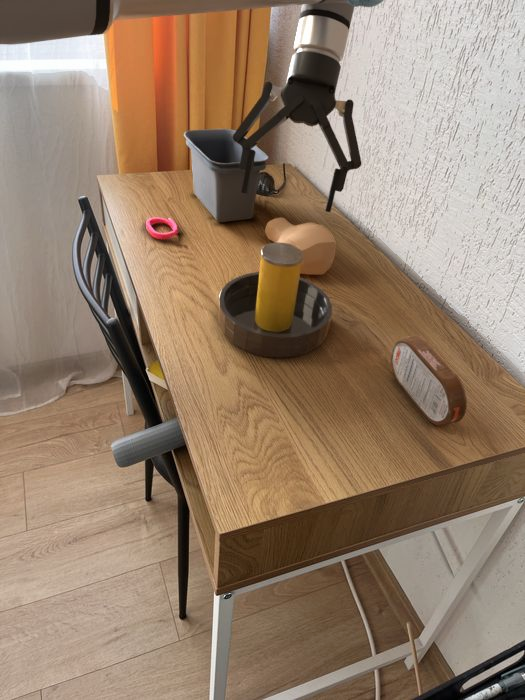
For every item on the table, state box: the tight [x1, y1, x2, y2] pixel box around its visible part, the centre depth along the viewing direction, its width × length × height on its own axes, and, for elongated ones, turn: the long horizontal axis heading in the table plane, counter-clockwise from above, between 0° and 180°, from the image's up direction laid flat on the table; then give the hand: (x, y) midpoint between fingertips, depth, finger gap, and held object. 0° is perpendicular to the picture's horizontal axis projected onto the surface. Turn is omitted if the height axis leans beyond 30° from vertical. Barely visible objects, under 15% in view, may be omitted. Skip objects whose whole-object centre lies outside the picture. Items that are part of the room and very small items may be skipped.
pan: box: [217, 271, 333, 359], centre depth 88 cm, size 19×19×4 cm
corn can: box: [255, 242, 303, 332], centre depth 85 cm, size 6×6×13 cm
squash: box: [264, 216, 336, 275], centre depth 104 cm, size 11×20×9 cm, turn 28°
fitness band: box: [145, 217, 179, 240], centre depth 110 cm, size 8×6×2 cm
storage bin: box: [183, 128, 270, 223], centre depth 118 cm, size 21×16×14 cm
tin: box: [390, 334, 468, 427], centre depth 75 cm, size 15×3×8 cm, turn 21°
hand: (285, 202), depth 84 cm, fingers open, 13 cm apart
